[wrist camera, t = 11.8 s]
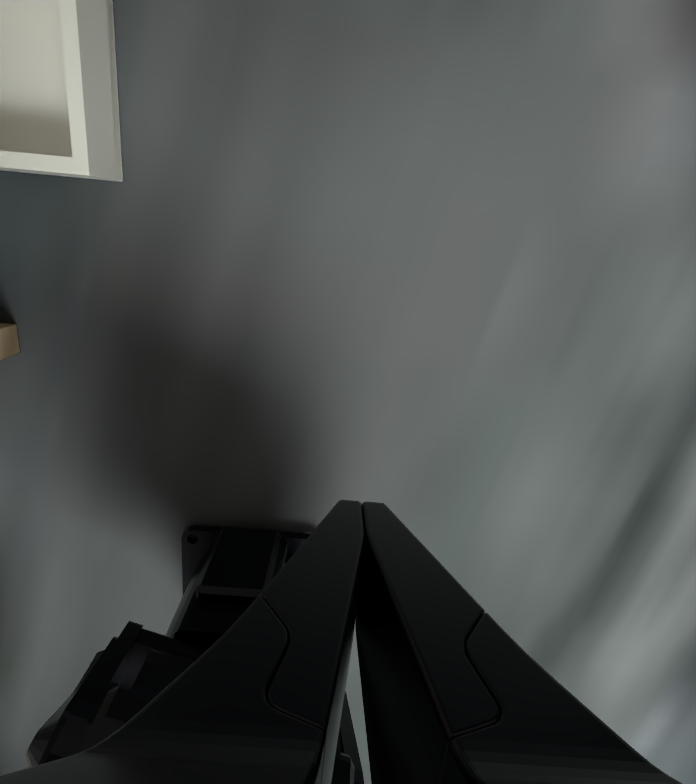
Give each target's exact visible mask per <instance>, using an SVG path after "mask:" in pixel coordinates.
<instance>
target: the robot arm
mask: <svg viewBox="0 0 696 784" xmlns="http://www.w3.org/2000/svg"><path fill="white" fill-rule="evenodd" d="M190 535H195V536H196V537H197V539H194V538H192V537H190ZM182 569H183V597H182V600H181V602H180V604H179V606H178V609H177V611H176V613H175V615H174V618H173V620H172V622H171V624H170V627H169V629H168V631H167V633H166V635H165V636H164V635H161V634H158V633H155V632H152V631H149V630H146V629H143V625H140V624H137V623H134V622H131V621H129V622H128V623H127V625H126V627H125V628H124V630H123V631H122V633H121V634H120V636H119V637H118V638H117V637H113V639H112V640H111V642H110V643H109V645H108V646H107V647H106V649H105V650H103V651H100V652H97V654H96V656H95V657H94V659H93V661H92V662H91V664H90V666H89V668H88V669H87V671H86V673H85V674H84V676H83V678H82V679H81V681H80V683H79V684H78V686H77V687H76V689H75V690H74V692H73V693H72V694H71V696H70V697H69V698H68V699H67V700H66V701H65V702H64V703H63V704H62V706H61V707H60V708H59V709H58V710H57V711H56V712H55V713H54V714H53V715H52V716H51V717H50V719H49V720H48V721H47V722H46V723H45V724H44V725H43V726H42V727H41V728H40V729H39V731H38V732H37V734H36V735H35V737H34V739H33V741H32V742H31V744H30V747H29V749H28V751H27V754H26V755H27V759H28V764H29V768H27V769H24V770H20V771H17V772H13V773H10V774H6V775H2V776H0V784H364V779H363V772H362V767H361V762H360V757H359V753H358V748H357V743H356V738H355V734H354V729H353V724H352V719H351V715H350V710H349V705H348V700H347V696H346V692H345V688H346V681H347V674H348V668H349V661H350V655H351V648H352V641H353V633H354V625H355V621H356V638H357V648H358V658H359V667H360V677H361V686H362V696H363V705H364V715H365V724H366V733H367V743H368V752H369V762H370V771H371V781H372V784H682V783H680V782H679V781H677V780H675V779H673V778H672V777H670V776H668V775H667V774H665V773H664V772H662V771H661V770H660V769H658V768H657V767H655V766H654V765H653V764H651V763H650V762H649V761H647V760H646V759H645V758H644V757H643V756H641V755H640V754H639V753H638V752H637V751H635V750H634V749H633V748H632V747H631V746H630V745H629V744H627V743H626V742H625V741H624V740H623V739H622V738H621V737H619V736H618V735H617V734H616V733H615V732H614V731H613V730H612V729H610V728H609V727H608V726H607V725H606V724H605V723H604V722H603V721H601V720H600V719H599V718H598V717H597V716H596V715H595V714H593V713H592V712H591V711H590V710H589V709H588V708H587V707H586V706H584V705H583V704H582V703H581V702H580V701H579V700H578V699H577V698H575V697H574V696H573V695H572V694H571V693H570V692H569V691H567V690H566V689H565V688H564V687H563V686H562V685H561V684H560V683H558V682H557V681H556V680H555V679H554V678H553V677H552V676H551V675H550V674H549V673H547V672H546V671H545V670H544V669H543V668H542V667H541V666H540V665H539V664H538V663H537V662H536V661H534V660H533V659H532V658H531V657H530V656H529V655H528V654H527V653H526V652H525V651H524V650H523V649H522V648H521V647H520V646H519V645H518V644H517V643H516V642H515V641H514V640H513V639H512V638H511V637H510V636H509V635H508V634H507V633H506V632H505V631H504V630H503V629H502V628H501V627H500V626H499V625H498V624H497V623H496V622H495V621H494V620H493V618H492V617H491V616H490V615H489V614H488V613H485V611H484V609H483V608H482V607H481V606H480V605H479V604H478V603H477V602H476V601H475V600H474V599H473V597H472V596H471V595H470V594H469V593H468V592H467V591H466V590H465V589H464V588H463V587H462V586H461V585H460V584H459V583H458V582H457V580H456V579H455V578H454V577H453V576H452V575H451V574H450V573H449V572H448V571H447V570H446V569H445V568H444V567H443V566H442V565H441V563H440V562H439V561H438V560H437V559H436V558H435V557H434V556H433V555H432V554H431V553H430V552H429V551H428V550H427V549H426V547H425V546H424V545H423V544H422V543H421V542H420V541H419V540H418V539H417V538H416V537H415V536H414V535H413V534H412V533H411V532H410V530H409V529H408V528H407V527H406V526H405V525H404V524H403V523H402V522H401V521H400V520H399V519H398V518H397V517H396V516H395V515H394V513H393V512H392V511H391V510H390V509H389V508H388V507H387V506H386V505H385V504H383V503H376V502H364V503H363V504H362V505H361V503H360V502H359V501H350V500H340V501H338V503H337V504H336V505H335V506H334V507H333V508H332V510H331V511H330V512H329V513H328V514H327V516H326V517H325V518H324V519H323V520H322V521H321V523H320V524H319V525H318V526H317V527H316V529H315V530H314V531H313V532H312V533H311V534H303V533H290V532H277V531H274V530H261V529H247V528H234V527H225V528H224V527H210V526H197V525H193V526H189V527H187V528H186V530H185V531H184V533H183V535H182Z"/></svg>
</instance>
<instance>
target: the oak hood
mask: <svg viewBox="0 0 696 784" xmlns="http://www.w3.org/2000/svg"><path fill="white" fill-rule="evenodd" d="M17 353H20V348H19V341H18V334H17V326H16V324H7V323H0V360H2V359H5V358H7V357H10V356H12V355H15V354H17Z"/></svg>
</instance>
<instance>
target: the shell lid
mask: <svg viewBox="0 0 696 784" xmlns="http://www.w3.org/2000/svg"><path fill="white" fill-rule="evenodd" d="M0 170H2V171H12V172H23V173H34V174H44V175H55V176H65V177H76V178H86V179H97V180H107V181H118V182H123V172H122V155H121V137H120V120H119V103H118V85H117V68H116V51H115V33H114V16H113V0H0Z"/></svg>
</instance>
